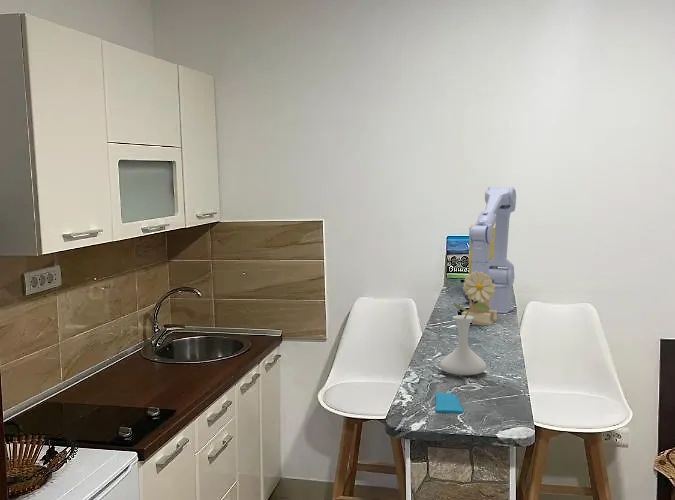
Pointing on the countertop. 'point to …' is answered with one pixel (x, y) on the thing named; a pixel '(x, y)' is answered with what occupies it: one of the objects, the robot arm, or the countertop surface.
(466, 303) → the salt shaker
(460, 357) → the flower in vase
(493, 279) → the robot arm
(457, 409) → the sponge
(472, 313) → the birch base
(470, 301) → the terracotta cube
